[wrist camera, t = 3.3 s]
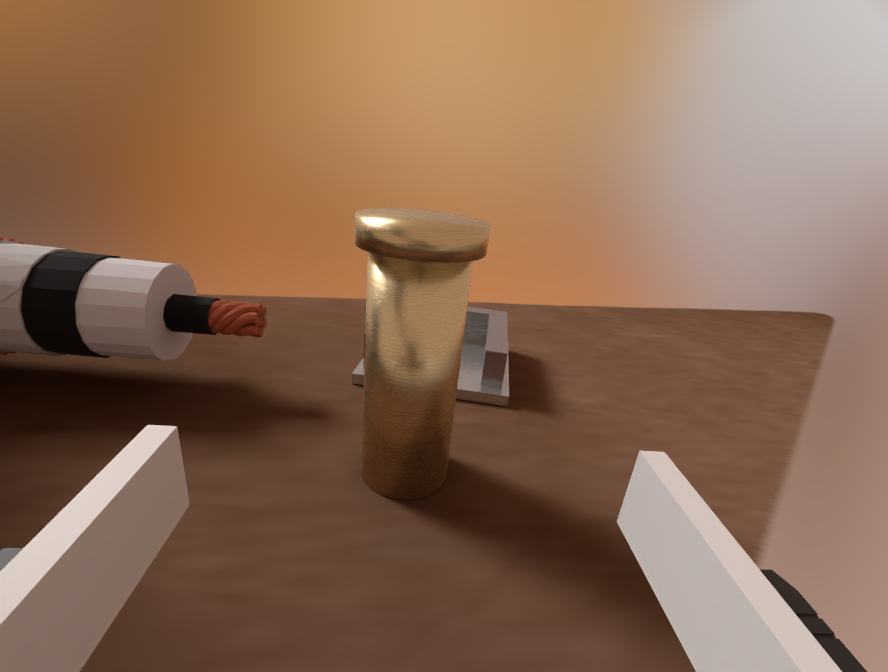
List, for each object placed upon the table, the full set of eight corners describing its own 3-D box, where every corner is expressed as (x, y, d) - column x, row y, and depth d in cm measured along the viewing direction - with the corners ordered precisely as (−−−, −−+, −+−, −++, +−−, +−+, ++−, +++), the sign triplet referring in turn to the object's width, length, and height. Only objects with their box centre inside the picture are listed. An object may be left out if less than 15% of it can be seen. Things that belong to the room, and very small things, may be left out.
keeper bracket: (351, 383, 31) (352, 338, 30) (386, 332, 40) (388, 296, 39) (507, 406, 30) (515, 360, 29) (506, 349, 39) (512, 312, 38)
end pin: (334, 497, 21) (335, 218, 16) (368, 430, 26) (376, 204, 21) (450, 517, 20) (488, 236, 16) (461, 445, 26) (492, 217, 21)
